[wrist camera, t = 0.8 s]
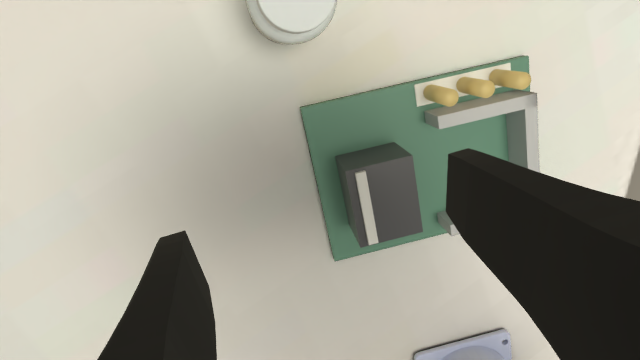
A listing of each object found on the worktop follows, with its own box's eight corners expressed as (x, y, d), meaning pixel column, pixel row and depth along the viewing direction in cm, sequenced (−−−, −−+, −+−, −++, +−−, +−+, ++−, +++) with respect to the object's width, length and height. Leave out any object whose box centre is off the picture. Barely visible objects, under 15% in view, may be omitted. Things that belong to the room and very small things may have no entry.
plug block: (404, 210, 29) (425, 233, 26) (348, 224, 29) (361, 250, 25) (394, 141, 28) (414, 156, 24) (334, 156, 27) (346, 172, 24)
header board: (529, 207, 31) (562, 227, 28) (333, 257, 30) (342, 284, 27) (522, 55, 28) (559, 57, 24) (299, 107, 27) (305, 116, 23)
